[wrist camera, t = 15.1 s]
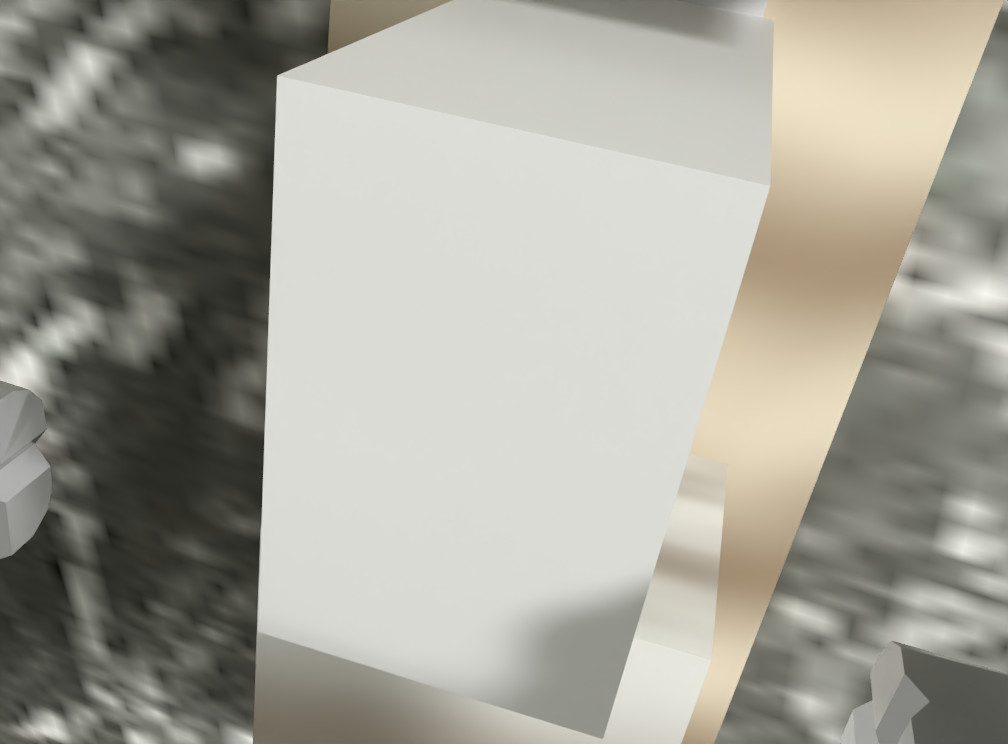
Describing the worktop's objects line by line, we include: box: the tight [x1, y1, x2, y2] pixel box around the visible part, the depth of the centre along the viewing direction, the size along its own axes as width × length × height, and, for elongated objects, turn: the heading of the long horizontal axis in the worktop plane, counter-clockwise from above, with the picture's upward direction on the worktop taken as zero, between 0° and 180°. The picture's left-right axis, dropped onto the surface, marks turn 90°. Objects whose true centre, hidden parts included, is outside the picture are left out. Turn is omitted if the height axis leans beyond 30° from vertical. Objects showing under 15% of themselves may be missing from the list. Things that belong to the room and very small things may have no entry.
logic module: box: [258, 0, 774, 739], centre depth 14 cm, size 5×7×10 cm, turn 171°
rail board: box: [253, 0, 1003, 744], centre depth 17 cm, size 34×12×8 cm, turn 171°
